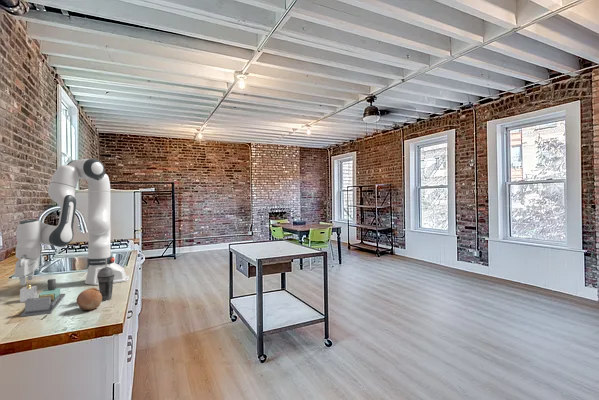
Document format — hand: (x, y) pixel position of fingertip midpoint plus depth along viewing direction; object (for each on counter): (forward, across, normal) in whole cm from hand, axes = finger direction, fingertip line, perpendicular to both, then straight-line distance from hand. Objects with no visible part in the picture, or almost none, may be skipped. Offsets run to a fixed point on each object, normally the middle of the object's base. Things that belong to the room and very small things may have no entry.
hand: (26, 282), depth 148 cm
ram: (+7, -4, -10) cm, 13 cm away
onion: (+8, -26, -29) cm, 39 cm away
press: (+8, -12, -10) cm, 17 cm away
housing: (+9, 0, -1) cm, 9 cm away
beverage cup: (+8, -14, -34) cm, 37 cm away
